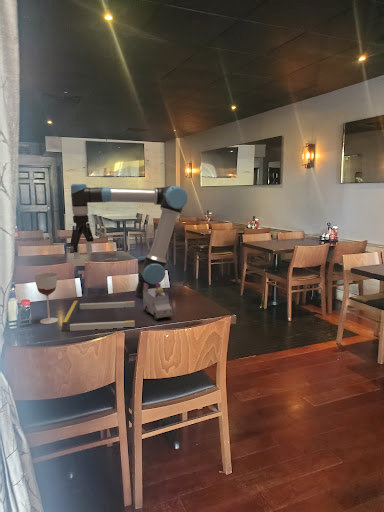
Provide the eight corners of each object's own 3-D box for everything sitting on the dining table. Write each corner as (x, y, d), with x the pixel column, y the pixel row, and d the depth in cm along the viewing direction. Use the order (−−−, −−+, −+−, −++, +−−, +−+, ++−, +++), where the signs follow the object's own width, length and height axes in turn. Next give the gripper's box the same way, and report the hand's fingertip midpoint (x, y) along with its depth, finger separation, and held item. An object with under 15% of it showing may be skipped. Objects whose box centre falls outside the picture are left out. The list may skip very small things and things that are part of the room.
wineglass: (63, 320, 178) (60, 275, 175) (43, 325, 172) (40, 278, 168) (54, 316, 184) (51, 272, 180) (35, 320, 177) (31, 275, 174)
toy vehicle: (155, 322, 176) (155, 291, 173) (141, 310, 193) (140, 282, 190) (173, 319, 180) (173, 289, 177) (158, 308, 197) (157, 280, 194)
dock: (134, 305, 200) (134, 298, 200) (134, 327, 169) (134, 318, 168) (74, 308, 196) (74, 300, 195) (62, 331, 165) (62, 322, 164)
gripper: (85, 213, 203) (87, 251, 207) (60, 216, 179) (64, 260, 183) (98, 213, 202) (100, 252, 205) (75, 216, 178) (78, 261, 181)
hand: (83, 256), depth 194 cm, fingers open, 13 cm apart
